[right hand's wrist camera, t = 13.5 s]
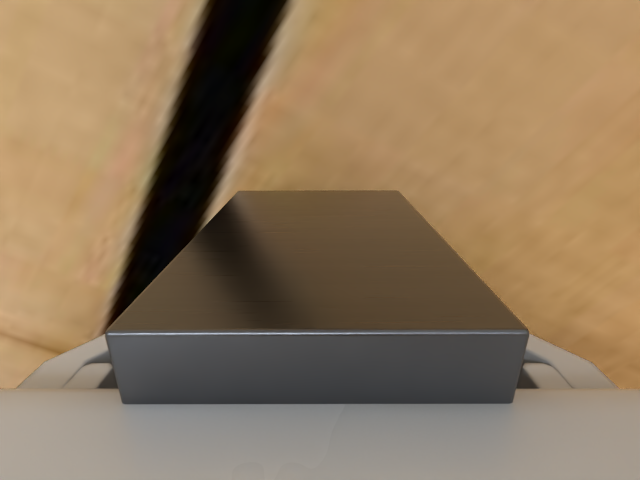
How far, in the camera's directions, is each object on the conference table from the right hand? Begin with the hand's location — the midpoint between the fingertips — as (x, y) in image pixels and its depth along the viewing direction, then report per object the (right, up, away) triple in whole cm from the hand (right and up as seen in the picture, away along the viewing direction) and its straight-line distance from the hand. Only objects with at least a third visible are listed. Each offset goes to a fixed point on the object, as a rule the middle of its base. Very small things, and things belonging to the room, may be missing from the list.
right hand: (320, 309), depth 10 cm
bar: (0, -7, +6) cm, 9 cm away
